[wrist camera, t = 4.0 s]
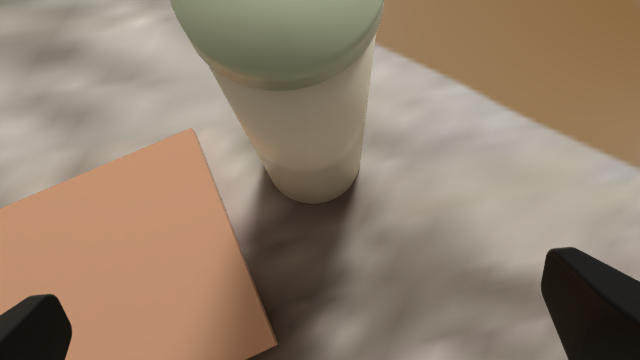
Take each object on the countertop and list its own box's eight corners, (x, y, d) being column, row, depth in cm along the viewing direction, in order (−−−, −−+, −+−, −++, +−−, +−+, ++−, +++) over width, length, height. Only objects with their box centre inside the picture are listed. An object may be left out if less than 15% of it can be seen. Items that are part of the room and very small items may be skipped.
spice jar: (380, 141, 23) (427, -67, 10) (330, 224, 22) (313, 108, 9) (297, 96, 23) (246, -146, 11) (245, 174, 22) (124, 6, 10)
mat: (278, 344, 20) (276, 345, 20) (39, 454, 19) (30, 459, 19) (195, 132, 23) (191, 127, 23) (-15, 221, 22) (-25, 219, 22)
